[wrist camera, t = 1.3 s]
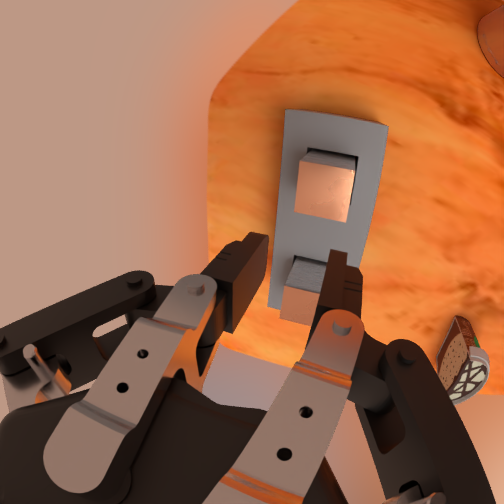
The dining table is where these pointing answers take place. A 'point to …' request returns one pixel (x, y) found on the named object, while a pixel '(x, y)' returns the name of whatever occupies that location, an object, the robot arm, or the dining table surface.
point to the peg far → (302, 290)
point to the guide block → (316, 228)
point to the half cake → (462, 362)
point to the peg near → (325, 184)
